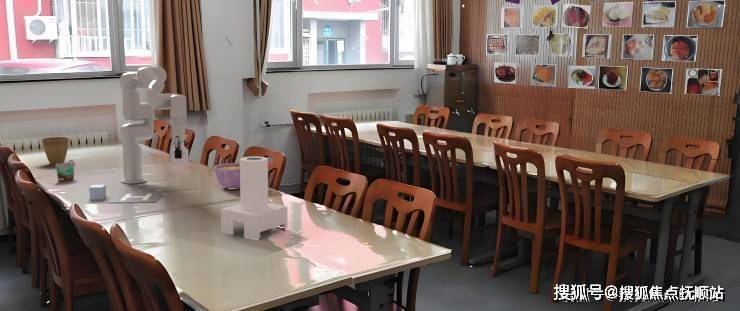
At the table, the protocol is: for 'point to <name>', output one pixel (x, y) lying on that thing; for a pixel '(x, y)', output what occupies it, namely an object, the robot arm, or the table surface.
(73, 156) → the table surface
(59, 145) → the plant pot
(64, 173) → the food container
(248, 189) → the paper towel holder
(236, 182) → the bowl of food
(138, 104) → the robot arm
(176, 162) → the medicine bottle
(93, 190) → the blue cube
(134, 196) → the board
